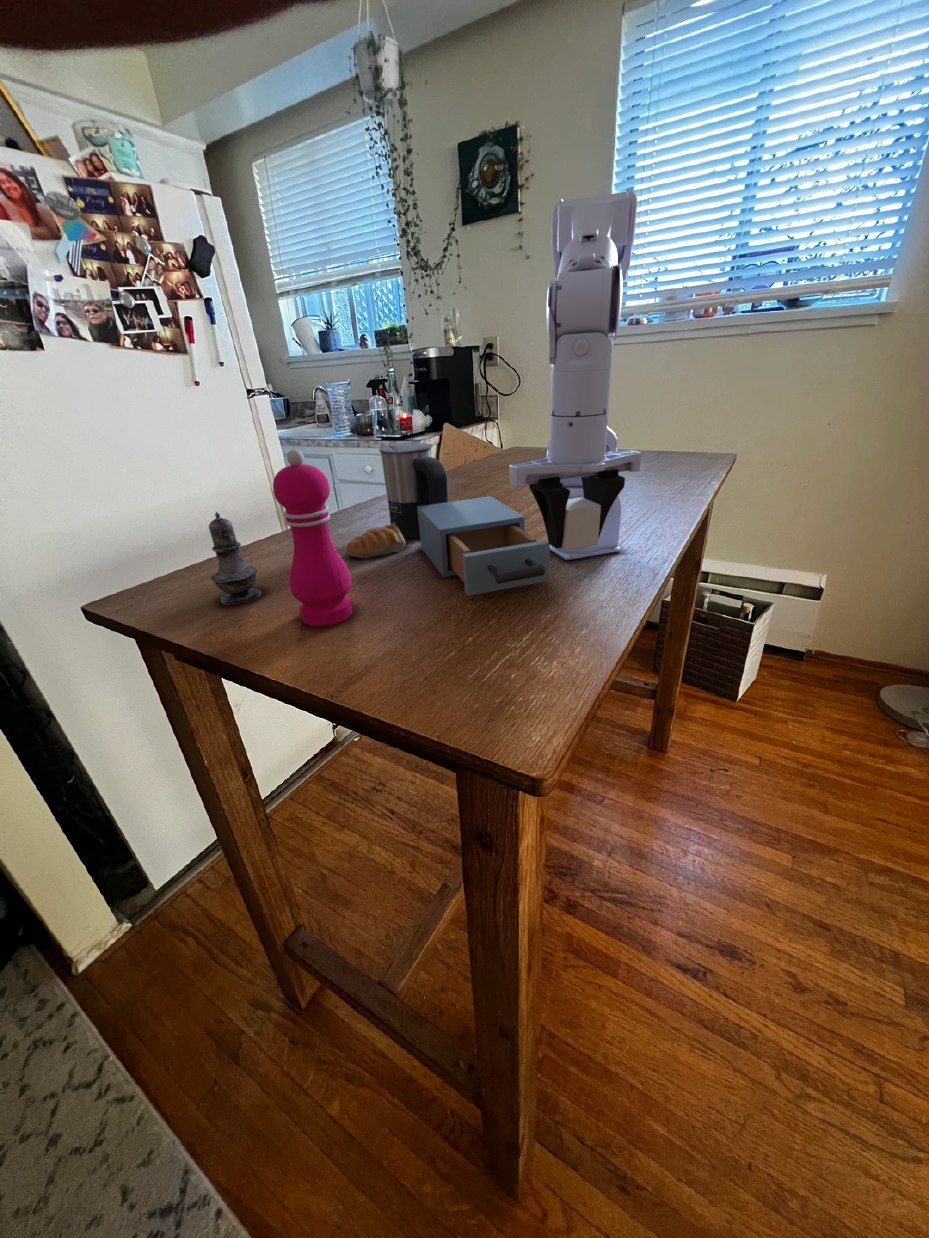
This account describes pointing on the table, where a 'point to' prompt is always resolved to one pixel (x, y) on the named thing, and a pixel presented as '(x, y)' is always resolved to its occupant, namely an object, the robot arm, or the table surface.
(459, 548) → the drawer
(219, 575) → the salt shaker
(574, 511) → the block
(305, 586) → the pepper mill
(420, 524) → the cabinet
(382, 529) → the pastry
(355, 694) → the table surface
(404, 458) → the milk frother
